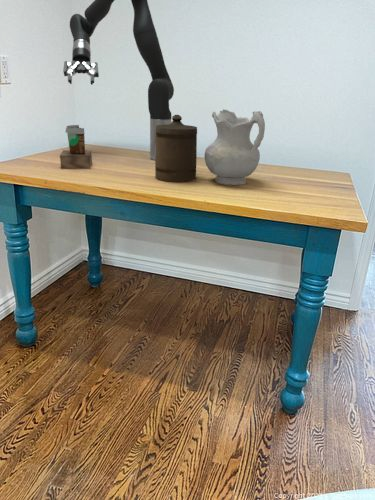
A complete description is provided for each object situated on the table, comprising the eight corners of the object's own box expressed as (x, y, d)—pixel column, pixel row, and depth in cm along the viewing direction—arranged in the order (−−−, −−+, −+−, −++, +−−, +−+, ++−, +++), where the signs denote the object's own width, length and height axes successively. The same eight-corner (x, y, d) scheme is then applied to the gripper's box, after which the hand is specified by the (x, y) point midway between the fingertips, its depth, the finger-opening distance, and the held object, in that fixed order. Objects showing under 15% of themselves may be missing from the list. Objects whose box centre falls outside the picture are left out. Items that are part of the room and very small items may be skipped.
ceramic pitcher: (270, 184, 151) (280, 113, 143) (250, 191, 135) (259, 110, 127) (217, 176, 161) (223, 109, 153) (192, 182, 145) (198, 106, 137)
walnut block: (92, 162, 173) (91, 150, 171) (90, 168, 162) (89, 155, 160) (64, 162, 171) (63, 150, 169) (60, 168, 160) (59, 155, 158)
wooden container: (178, 171, 162) (179, 112, 153) (204, 179, 151) (207, 116, 143) (147, 176, 153) (146, 113, 144) (172, 184, 142) (173, 117, 134)
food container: (64, 150, 169) (62, 124, 165) (80, 150, 171) (78, 124, 167) (69, 155, 158) (67, 128, 154) (85, 155, 160) (84, 128, 157)
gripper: (63, 45, 173) (62, 75, 167) (97, 47, 176) (98, 76, 170) (65, 60, 180) (64, 88, 174) (99, 61, 182) (99, 90, 176)
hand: (81, 82), depth 172 cm, fingers open, 8 cm apart
